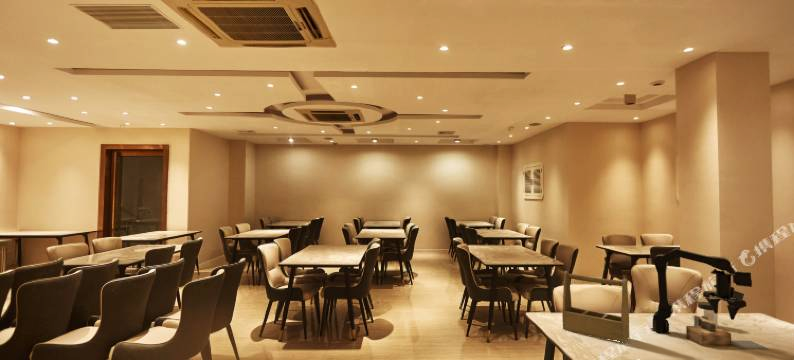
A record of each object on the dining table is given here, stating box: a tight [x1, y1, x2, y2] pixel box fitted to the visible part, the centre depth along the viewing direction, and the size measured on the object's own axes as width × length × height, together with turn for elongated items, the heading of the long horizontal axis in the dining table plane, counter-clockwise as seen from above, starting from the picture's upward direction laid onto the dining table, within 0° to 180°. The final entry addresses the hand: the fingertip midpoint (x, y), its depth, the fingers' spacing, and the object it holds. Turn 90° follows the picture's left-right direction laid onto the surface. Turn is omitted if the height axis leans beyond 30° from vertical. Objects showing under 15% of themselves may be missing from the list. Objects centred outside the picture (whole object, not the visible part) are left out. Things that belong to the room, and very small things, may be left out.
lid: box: [685, 321, 732, 336], centre depth 194 cm, size 14×10×5 cm
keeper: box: [693, 316, 708, 326], centre depth 204 cm, size 5×3×9 cm, turn 90°
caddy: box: [561, 270, 630, 344], centre depth 204 cm, size 29×11×30 cm, turn 47°
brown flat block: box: [685, 327, 732, 347], centre depth 194 cm, size 14×10×5 cm
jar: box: [696, 301, 719, 328], centre depth 218 cm, size 9×8×12 cm
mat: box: [731, 339, 770, 350], centre depth 190 cm, size 13×10×1 cm
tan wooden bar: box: [691, 314, 717, 328], centre depth 202 cm, size 2×13×2 cm, turn 0°
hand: (724, 316), depth 192 cm, fingers open, 9 cm apart
